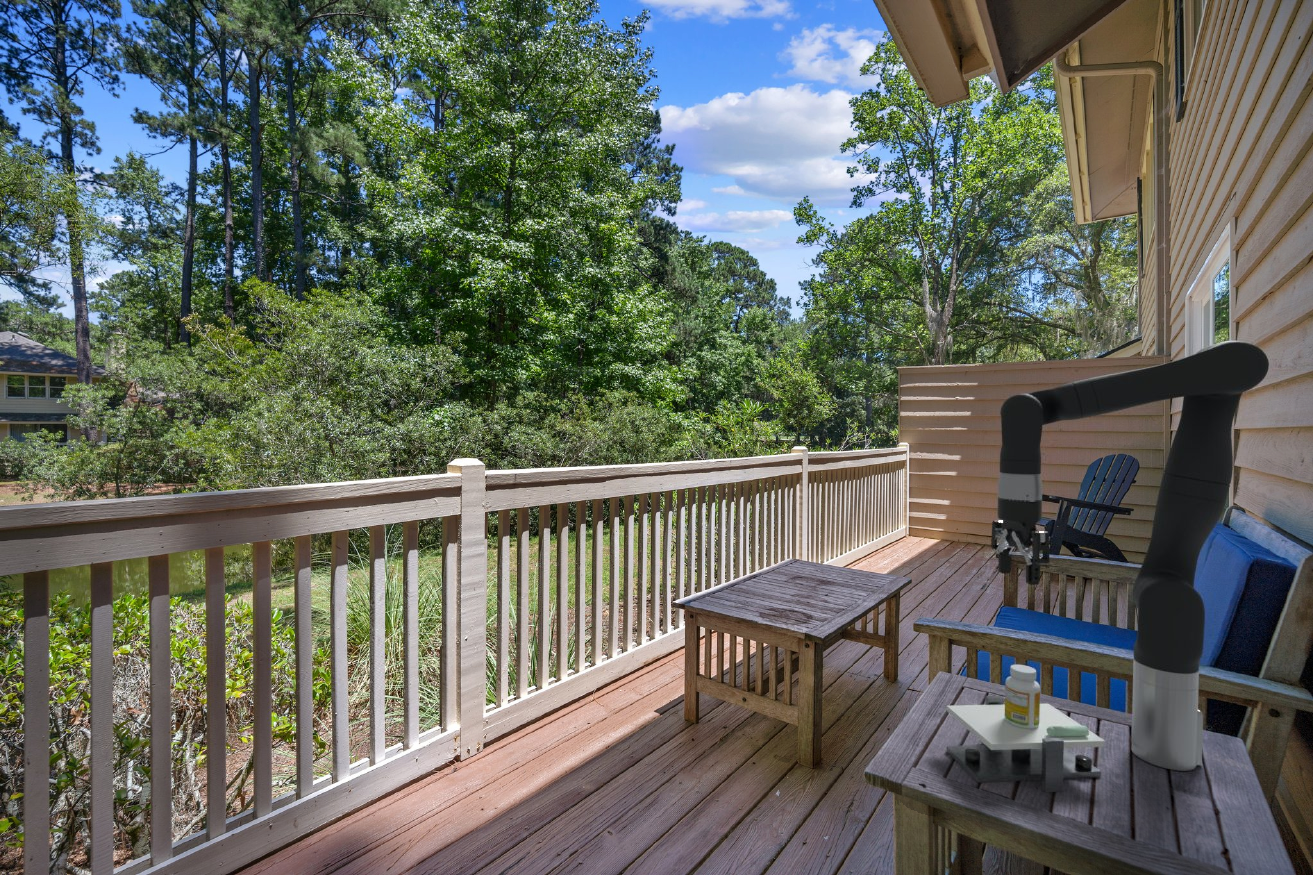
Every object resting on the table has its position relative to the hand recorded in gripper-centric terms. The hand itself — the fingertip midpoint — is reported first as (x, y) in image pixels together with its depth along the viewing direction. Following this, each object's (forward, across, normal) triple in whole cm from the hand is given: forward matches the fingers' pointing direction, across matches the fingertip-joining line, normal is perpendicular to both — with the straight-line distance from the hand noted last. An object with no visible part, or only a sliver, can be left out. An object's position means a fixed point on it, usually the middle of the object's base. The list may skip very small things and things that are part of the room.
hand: (1018, 578), depth 125 cm
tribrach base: (+30, +12, -7) cm, 33 cm away
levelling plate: (+23, +12, -7) cm, 27 cm away
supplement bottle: (+23, +12, -7) cm, 27 cm away
